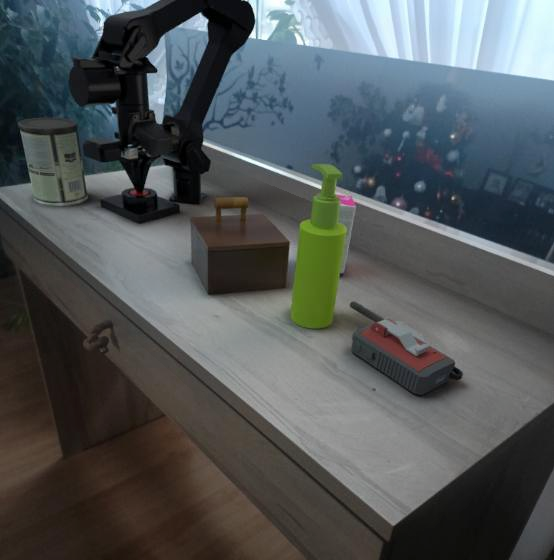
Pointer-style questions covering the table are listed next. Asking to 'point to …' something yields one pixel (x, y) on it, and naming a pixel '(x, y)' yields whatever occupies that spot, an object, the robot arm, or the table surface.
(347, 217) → the supplement box
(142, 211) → the button box
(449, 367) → the walkie-talkie
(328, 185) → the soap dispenser
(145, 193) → the button
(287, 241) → the lid
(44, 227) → the table surface
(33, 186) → the coffee can
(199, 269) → the chest
